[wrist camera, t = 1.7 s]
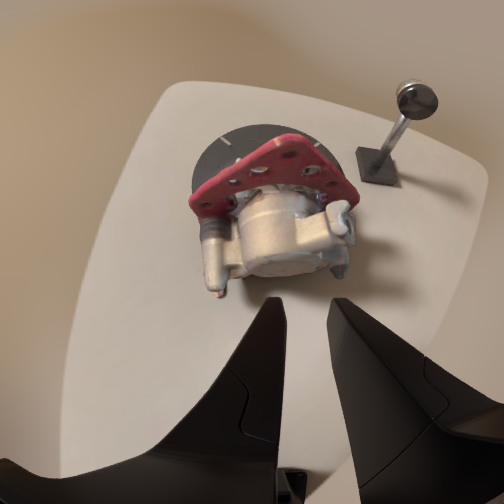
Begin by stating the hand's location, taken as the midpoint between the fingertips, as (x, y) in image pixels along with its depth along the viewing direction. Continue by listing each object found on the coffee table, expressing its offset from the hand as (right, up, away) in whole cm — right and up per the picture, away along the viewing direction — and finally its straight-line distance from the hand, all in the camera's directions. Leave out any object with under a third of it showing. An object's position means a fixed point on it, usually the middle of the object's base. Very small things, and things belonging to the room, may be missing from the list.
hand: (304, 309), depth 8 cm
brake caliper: (0, +3, +14) cm, 15 cm away
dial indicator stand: (+11, +10, +17) cm, 23 cm away
